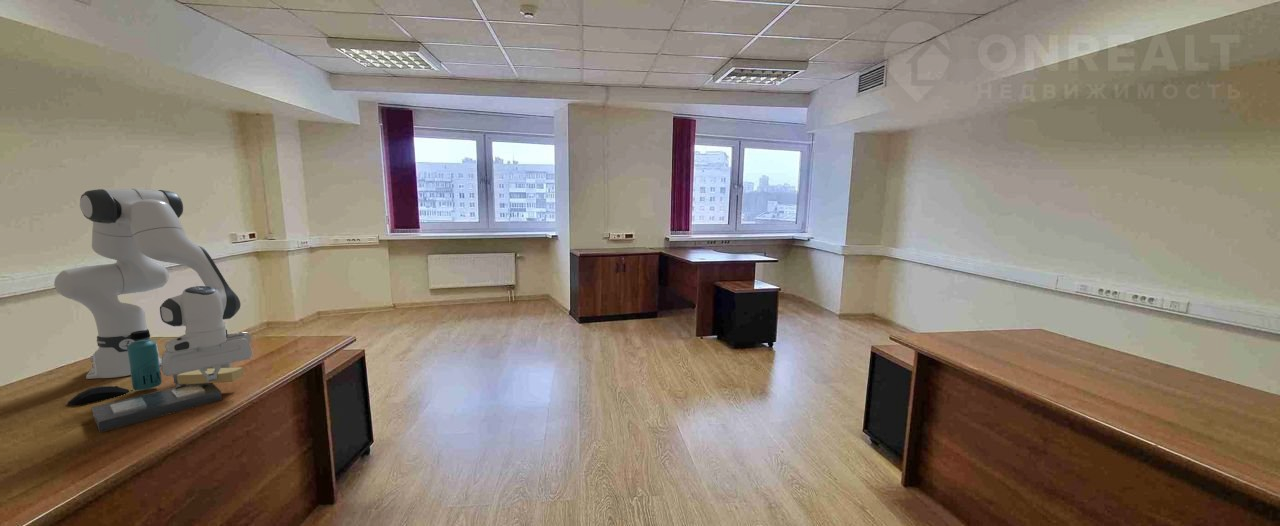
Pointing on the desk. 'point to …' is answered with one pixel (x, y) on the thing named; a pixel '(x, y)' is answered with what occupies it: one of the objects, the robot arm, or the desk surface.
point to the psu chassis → (154, 405)
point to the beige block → (198, 377)
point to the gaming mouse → (97, 395)
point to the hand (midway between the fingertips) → (211, 379)
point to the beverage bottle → (143, 361)
